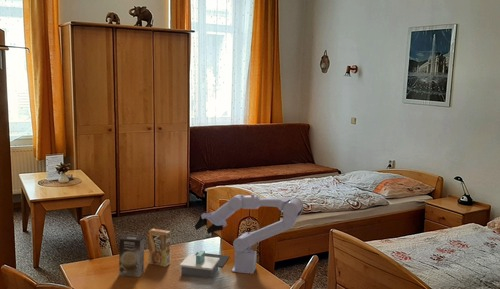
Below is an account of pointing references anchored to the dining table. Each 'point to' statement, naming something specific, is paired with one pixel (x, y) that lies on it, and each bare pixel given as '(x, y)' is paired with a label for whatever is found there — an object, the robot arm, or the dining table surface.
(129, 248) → the coffee box
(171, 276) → the dining table surface
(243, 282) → the dining table surface
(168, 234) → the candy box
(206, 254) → the mat
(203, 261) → the lid
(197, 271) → the tub
